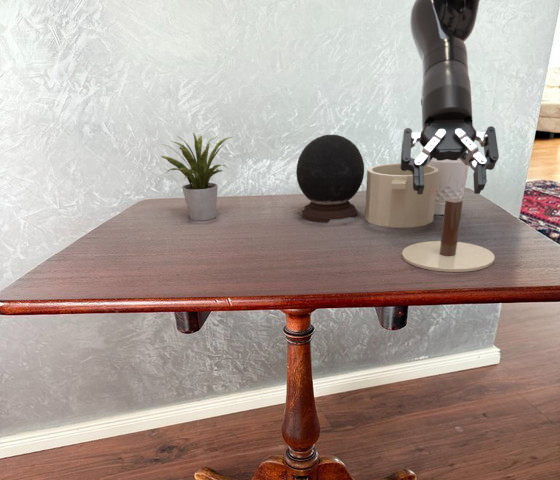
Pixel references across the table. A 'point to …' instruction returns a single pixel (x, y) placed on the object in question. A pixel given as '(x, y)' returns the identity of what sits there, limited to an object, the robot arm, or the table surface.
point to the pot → (399, 197)
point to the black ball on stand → (330, 177)
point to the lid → (449, 247)
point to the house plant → (198, 179)
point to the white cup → (449, 182)
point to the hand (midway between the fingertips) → (449, 191)
